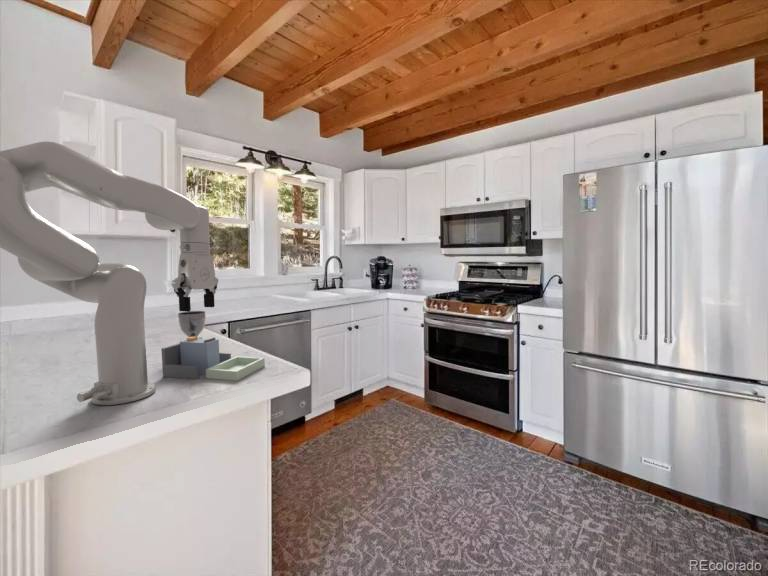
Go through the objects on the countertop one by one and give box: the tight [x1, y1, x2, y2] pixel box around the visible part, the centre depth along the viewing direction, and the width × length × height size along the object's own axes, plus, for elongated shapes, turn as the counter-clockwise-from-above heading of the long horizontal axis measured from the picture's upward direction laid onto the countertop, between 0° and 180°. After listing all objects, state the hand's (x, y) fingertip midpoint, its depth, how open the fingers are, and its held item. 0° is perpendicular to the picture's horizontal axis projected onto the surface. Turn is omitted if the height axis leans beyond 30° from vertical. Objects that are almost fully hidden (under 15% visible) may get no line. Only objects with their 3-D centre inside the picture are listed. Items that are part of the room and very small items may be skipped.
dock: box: [161, 337, 232, 380], centre depth 107 cm, size 15×11×8 cm
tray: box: [205, 355, 266, 382], centre depth 106 cm, size 14×10×2 cm
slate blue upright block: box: [179, 336, 220, 375], centre depth 107 cm, size 5×9×10 cm, turn 77°
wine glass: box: [177, 310, 206, 338], centre depth 121 cm, size 8×8×15 cm
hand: (197, 309), depth 106 cm, fingers open, 9 cm apart
